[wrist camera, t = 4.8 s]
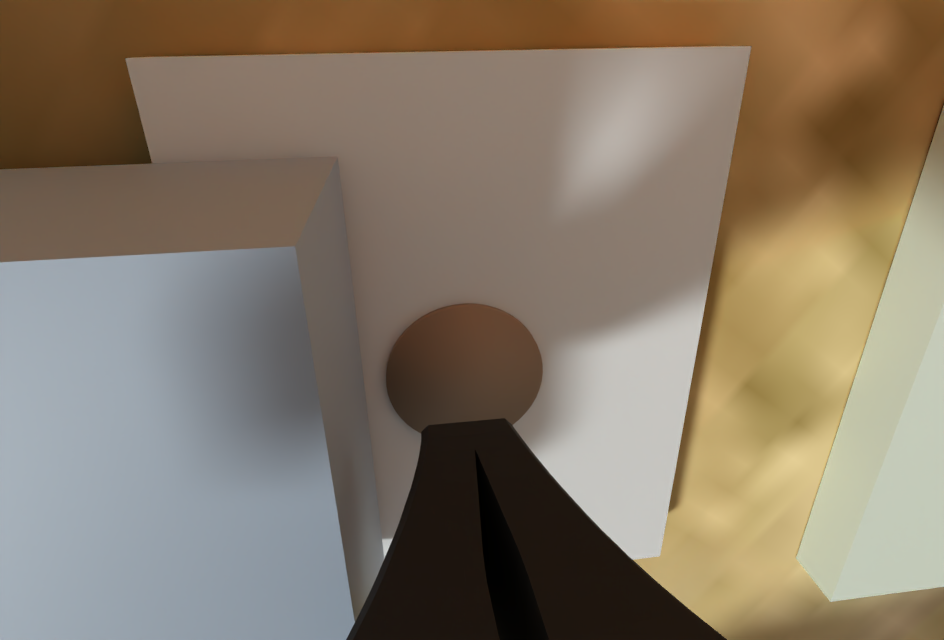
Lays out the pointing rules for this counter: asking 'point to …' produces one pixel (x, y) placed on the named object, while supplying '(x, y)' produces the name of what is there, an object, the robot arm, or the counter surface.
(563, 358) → the base
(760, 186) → the counter surface
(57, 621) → the block
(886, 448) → the socket board
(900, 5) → the counter surface
